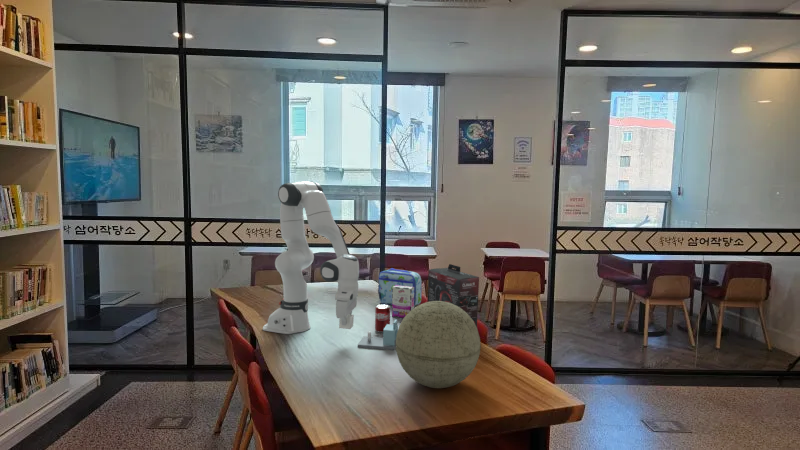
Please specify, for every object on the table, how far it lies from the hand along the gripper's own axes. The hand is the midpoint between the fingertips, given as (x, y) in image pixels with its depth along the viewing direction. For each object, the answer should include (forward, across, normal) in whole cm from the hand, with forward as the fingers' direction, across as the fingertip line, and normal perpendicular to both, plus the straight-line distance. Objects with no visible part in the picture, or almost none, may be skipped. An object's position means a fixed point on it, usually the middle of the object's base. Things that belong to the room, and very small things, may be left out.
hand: (346, 322), depth 203 cm
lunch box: (+10, -70, +12) cm, 71 cm away
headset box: (+8, -25, +45) cm, 52 cm away
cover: (+7, -3, +20) cm, 21 cm away
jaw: (+2, 0, 0) cm, 2 cm away
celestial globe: (+8, +32, +43) cm, 55 cm away
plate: (+9, -3, +14) cm, 17 cm away
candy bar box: (+10, -47, +18) cm, 51 cm away
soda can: (+10, -22, +12) cm, 27 cm away
